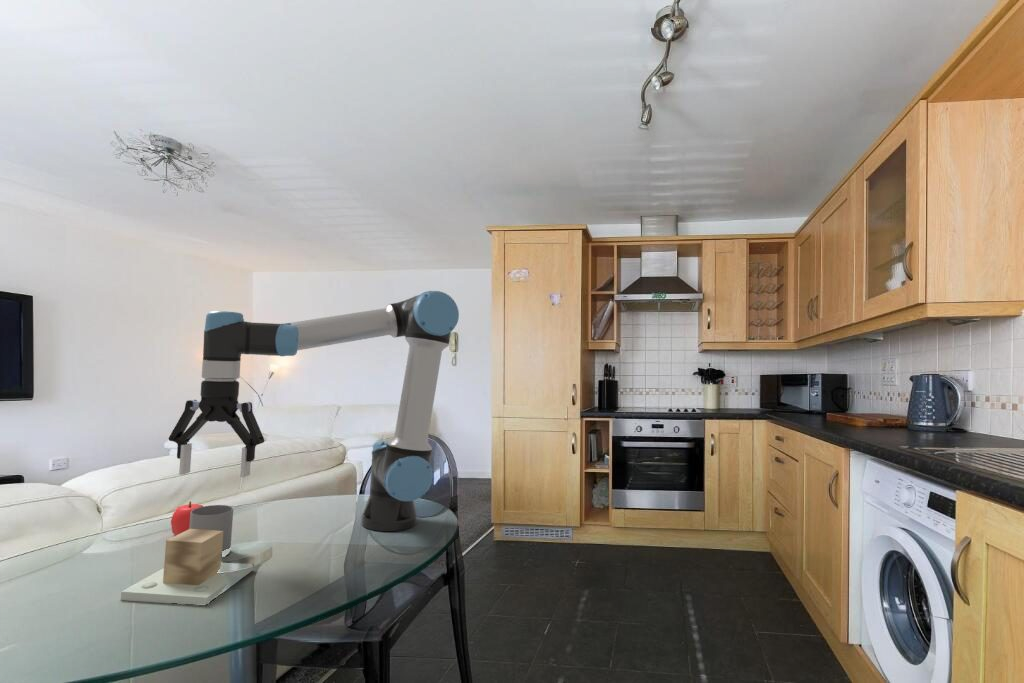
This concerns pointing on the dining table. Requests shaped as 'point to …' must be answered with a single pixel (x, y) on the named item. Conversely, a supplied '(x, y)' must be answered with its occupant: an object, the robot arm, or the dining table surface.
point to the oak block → (192, 556)
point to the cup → (214, 521)
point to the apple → (182, 518)
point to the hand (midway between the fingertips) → (214, 474)
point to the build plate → (174, 590)
